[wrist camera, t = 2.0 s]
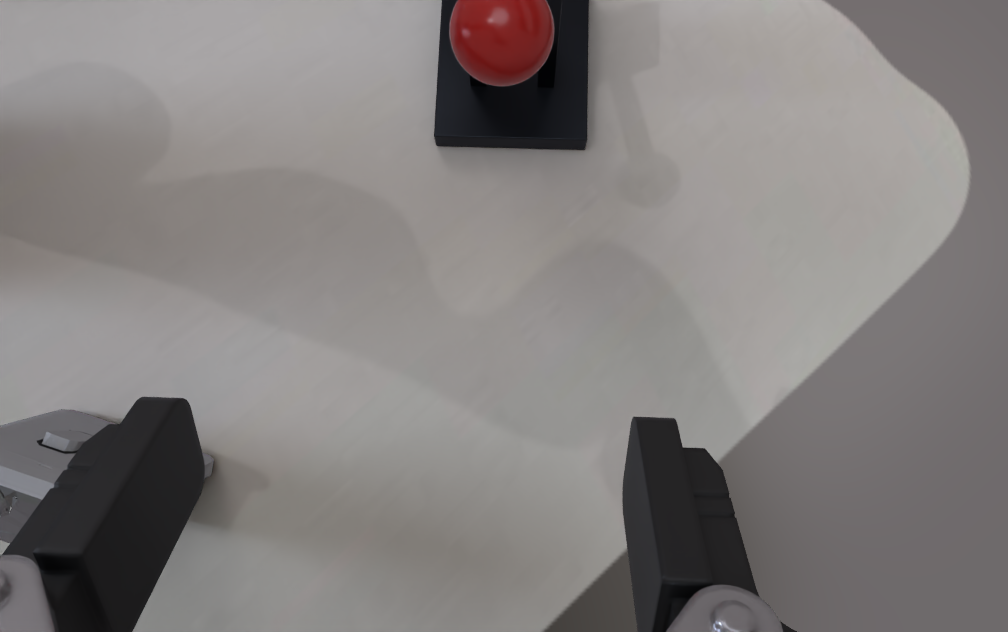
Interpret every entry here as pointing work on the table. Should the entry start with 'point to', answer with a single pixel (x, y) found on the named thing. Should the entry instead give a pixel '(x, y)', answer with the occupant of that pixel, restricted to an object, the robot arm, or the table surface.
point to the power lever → (501, 39)
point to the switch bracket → (519, 93)
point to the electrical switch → (41, 461)
